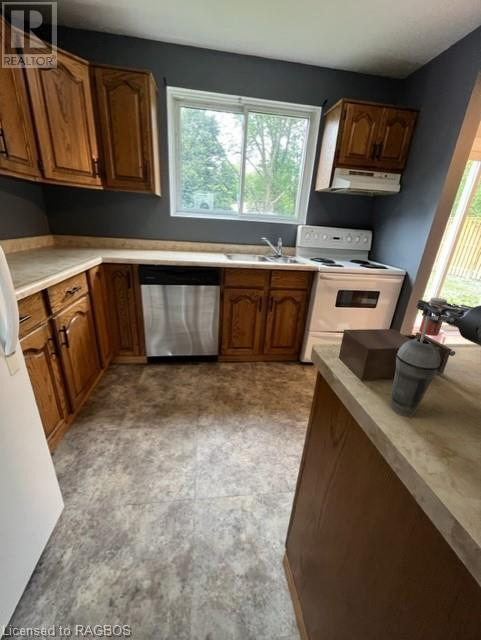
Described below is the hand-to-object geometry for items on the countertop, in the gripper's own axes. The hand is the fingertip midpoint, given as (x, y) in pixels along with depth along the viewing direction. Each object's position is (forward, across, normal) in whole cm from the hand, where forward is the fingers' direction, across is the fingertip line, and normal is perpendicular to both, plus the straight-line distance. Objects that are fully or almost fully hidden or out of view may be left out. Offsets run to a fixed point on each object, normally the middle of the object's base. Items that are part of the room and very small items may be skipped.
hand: (427, 304), depth 67 cm
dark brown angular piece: (0, -1, +17) cm, 17 cm away
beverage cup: (-16, +14, +18) cm, 28 cm away
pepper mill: (-3, 0, +6) cm, 7 cm away
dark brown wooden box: (+1, +10, +18) cm, 20 cm away
